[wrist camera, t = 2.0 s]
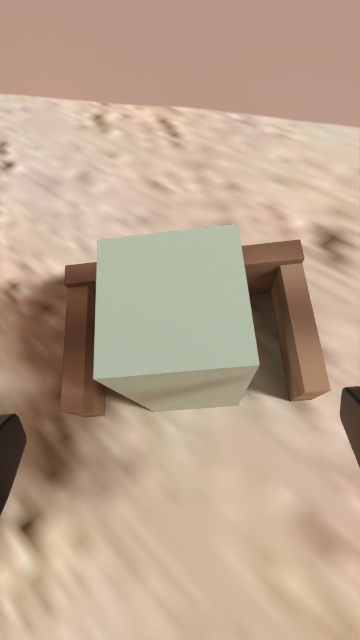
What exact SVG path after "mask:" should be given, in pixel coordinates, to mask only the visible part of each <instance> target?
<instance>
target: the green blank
mask: <svg viewBox="0 0 360 640" xmlns="http://www.w3.org/2000/svg"><path fill="white" fill-rule="evenodd" d="M259 365H260V364H259V357H258V351H257V344H256V338H255V331H254V325H253V318H252V312H251V305H250V298H249V292H248V285H247V279H246V272H245V266H244V259H243V253H242V246H241V240H240V233H239V226H238V224H232V225H223V226H214V227H206V228H197V229H188V230H180V231H171V232H163V233H154V234H145V235H137V236H128V237H119V238H111V239H102V240H97V273H96V306H95V339H94V372H93V379H94V380H96V381H98V382H99V383H101V384H103V385H105V386H107V387H109V388H111V389H112V390H114V391H116V392H118V393H120V394H122V395H123V396H125V397H127V398H129V399H131V400H133V401H135V402H136V403H138V404H140V405H142V406H144V407H146V408H147V409H149V410H151V411H153V412H160V411H173V410H186V409H199V408H212V407H225V406H238V404H239V403H240V401H241V399H242V397H243V395H244V393H245V391H246V390H247V388H248V386H249V384H250V382H251V380H252V378H253V377H254V375H255V373H256V371H257V369H258V367H259Z"/></svg>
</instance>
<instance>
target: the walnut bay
mask: <svg viewBox="0 0 360 640" xmlns="http://www.w3.org/2000/svg"><path fill="white" fill-rule="evenodd" d="M242 253H243V259H244V266H245V272H246V279H247V285H248V292H249V295H250V294H260V293H270V292H271V298H272V303H273V309H274V314H275V320H276V325H277V331H278V337H279V342H280V348H281V353H282V359H283V365H284V370H285V376H286V381H287V387H288V392H289V398H290V401H302V400H312V399H314V398H316V397H318V396H320V395H322V394H324V393H326V392H328V391H330V390H331V389H330V385H329V380H328V376H327V372H326V367H325V363H324V358H323V354H322V349H321V345H320V340H319V336H318V332H317V327H316V323H315V318H314V314H313V309H312V305H311V300H310V296H309V291H308V287H307V283H306V278H305V274H304V269H303V265H302V262H303V260H304V255H303V250H302V246H301V242H300V240H292V241H283V242H274V243H265V244H256V245H247V246H242ZM96 273H97V262H94V263H85V264H76V265H67V266H65V280H64V284H65V285H66V286H67V288H68V294H67V309H66V325H65V340H64V356H63V371H62V387H61V402H60V412H64V413H69V414H73V415H78V416H82V417H93V416H105V385H103V384H101V383H99V382H98V381H96V380H94V379H93V372H94V339H95V306H96Z"/></svg>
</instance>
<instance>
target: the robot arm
mask: <svg viewBox="0 0 360 640" xmlns="http://www.w3.org/2000/svg"><path fill="white" fill-rule="evenodd" d="M340 418H341V421H342V424H343V427H344V429H345V432H346V434H347V437H348V439H349V442H350V444H351V447H352V449H353V452H354V454H355V457H356V459H357V462H358V464H359V467H360V386H354V387H345V388H344V389H343V390H342V395H341V405H340ZM25 445H26V434H25V432H24V429H23V427H22V424H21V422H20V419H19V417H18V416H17V415H16V414H3V415H0V515H1V513H2V511H3V508H4V506H5V504H6V501H7V499H8V496H9V493H10V491H11V488H12V485H13V482H14V479H15V476H16V473H17V470H18V467H19V463H20V460H21V457H22V454H23V451H24V448H25Z"/></svg>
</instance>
